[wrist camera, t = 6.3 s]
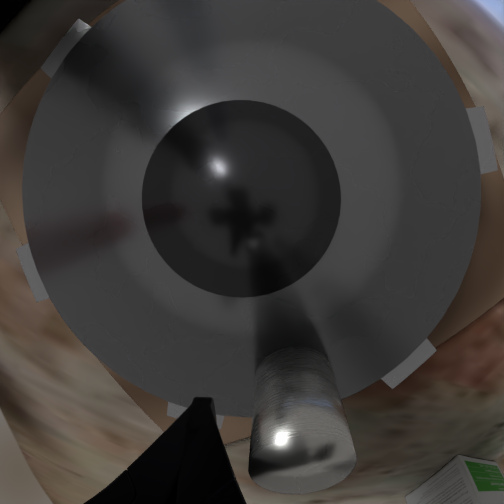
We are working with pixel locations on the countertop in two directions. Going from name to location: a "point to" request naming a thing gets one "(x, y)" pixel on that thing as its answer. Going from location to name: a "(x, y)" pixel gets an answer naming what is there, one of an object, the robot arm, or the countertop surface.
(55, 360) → the countertop surface
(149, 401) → the plate
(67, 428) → the countertop surface
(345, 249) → the notched metal dish
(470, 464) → the skincare box
